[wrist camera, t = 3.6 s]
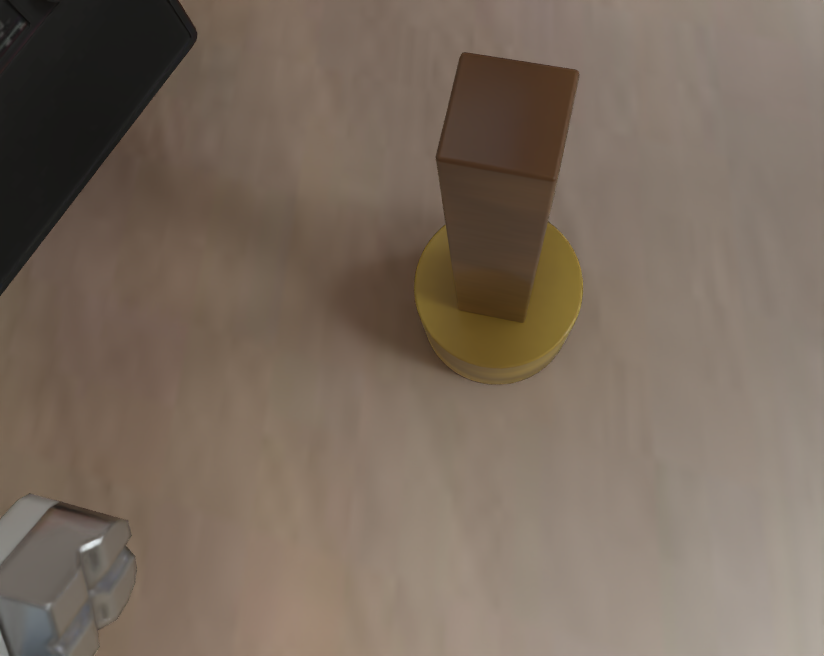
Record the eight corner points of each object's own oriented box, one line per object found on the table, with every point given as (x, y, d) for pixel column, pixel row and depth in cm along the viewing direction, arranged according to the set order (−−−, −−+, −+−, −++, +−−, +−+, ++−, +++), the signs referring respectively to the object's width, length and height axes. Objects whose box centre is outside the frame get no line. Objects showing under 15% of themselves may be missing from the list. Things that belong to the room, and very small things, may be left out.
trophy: (583, 257, 26) (689, 0, 12) (555, 399, 25) (636, 290, 12) (440, 230, 27) (394, -42, 13) (408, 367, 26) (322, 228, 12)
